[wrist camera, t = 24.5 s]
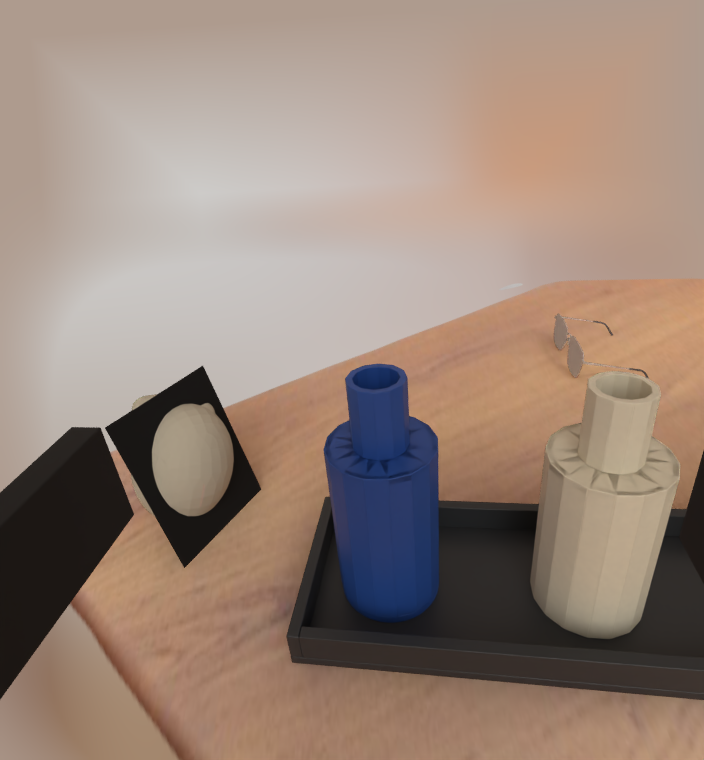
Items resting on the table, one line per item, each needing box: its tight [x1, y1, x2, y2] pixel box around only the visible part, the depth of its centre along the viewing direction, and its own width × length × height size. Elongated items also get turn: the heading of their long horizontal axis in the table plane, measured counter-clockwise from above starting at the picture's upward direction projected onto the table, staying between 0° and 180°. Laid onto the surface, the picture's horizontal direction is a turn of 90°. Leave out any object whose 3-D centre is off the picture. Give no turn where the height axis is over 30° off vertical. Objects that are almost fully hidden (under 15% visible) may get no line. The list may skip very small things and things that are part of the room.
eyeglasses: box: [554, 314, 648, 378], centre depth 64 cm, size 14×8×4 cm, turn 174°
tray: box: [287, 497, 704, 700], centre depth 34 cm, size 38×13×3 cm, turn 82°
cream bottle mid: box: [530, 371, 680, 639], centre depth 31 cm, size 7×7×16 cm
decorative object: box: [105, 366, 261, 568], centre depth 43 cm, size 13×10×10 cm
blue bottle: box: [324, 364, 439, 623], centre depth 33 cm, size 7×7×16 cm
